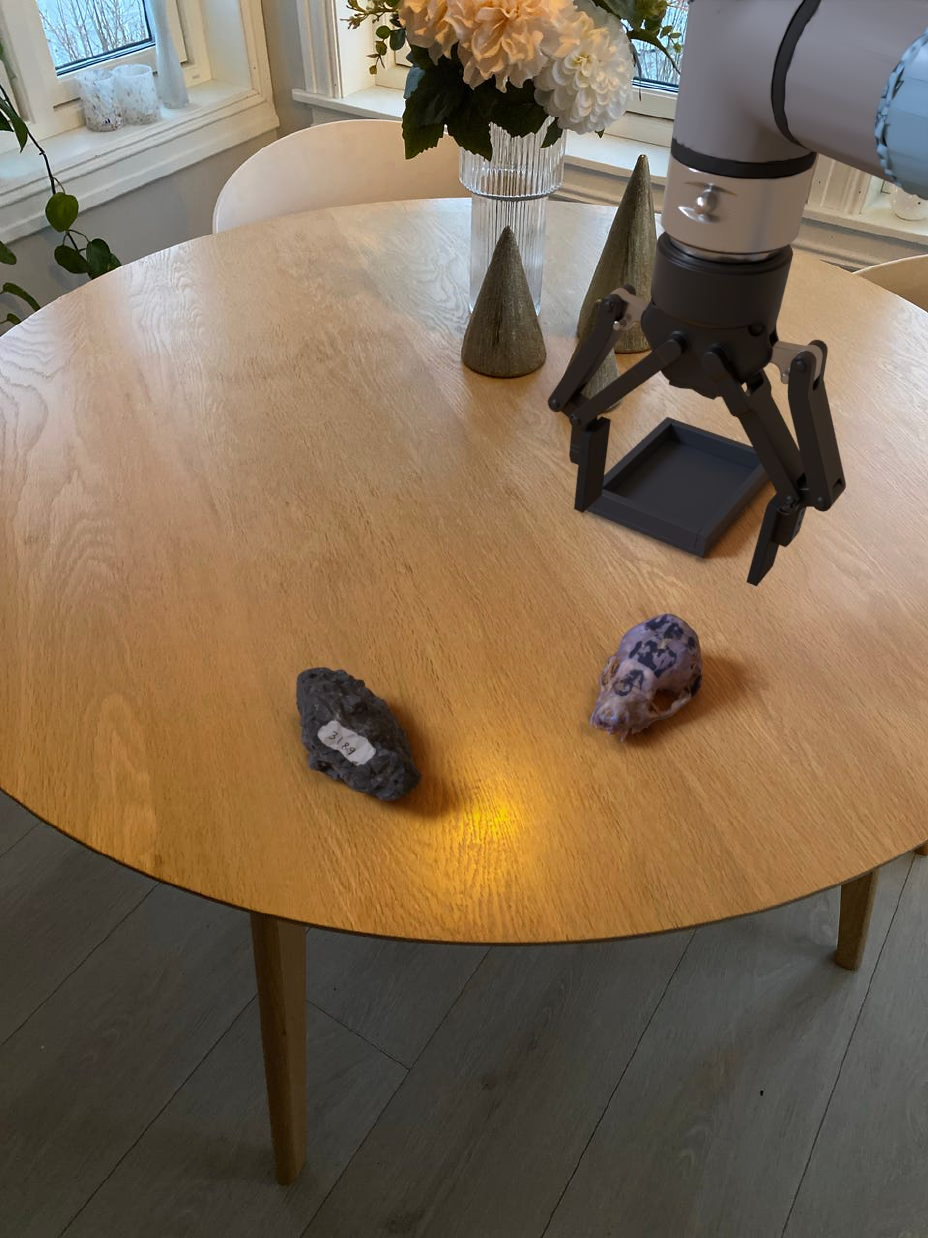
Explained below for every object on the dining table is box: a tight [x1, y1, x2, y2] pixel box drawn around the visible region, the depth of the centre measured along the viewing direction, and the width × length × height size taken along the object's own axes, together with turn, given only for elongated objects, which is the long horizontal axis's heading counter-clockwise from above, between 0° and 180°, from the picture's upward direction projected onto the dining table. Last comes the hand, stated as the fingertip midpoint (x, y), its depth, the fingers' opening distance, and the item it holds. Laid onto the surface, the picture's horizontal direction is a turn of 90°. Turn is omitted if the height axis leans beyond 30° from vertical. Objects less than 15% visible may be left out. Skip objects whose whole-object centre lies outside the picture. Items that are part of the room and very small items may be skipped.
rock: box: [295, 666, 424, 801], centre depth 73 cm, size 12×8×10 cm
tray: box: [585, 416, 770, 559], centre depth 99 cm, size 13×17×3 cm
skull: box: [589, 612, 704, 743], centre depth 77 cm, size 12×8×6 cm, turn 134°
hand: (670, 537), depth 68 cm, fingers open, 13 cm apart
